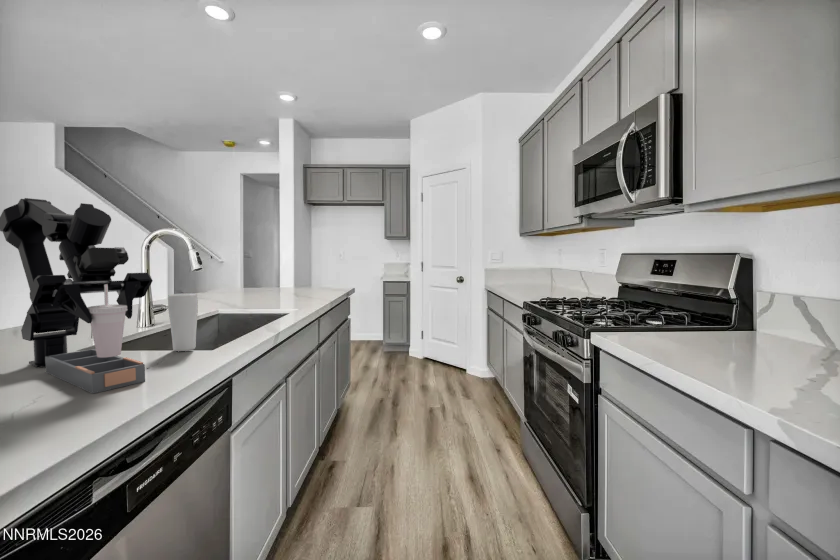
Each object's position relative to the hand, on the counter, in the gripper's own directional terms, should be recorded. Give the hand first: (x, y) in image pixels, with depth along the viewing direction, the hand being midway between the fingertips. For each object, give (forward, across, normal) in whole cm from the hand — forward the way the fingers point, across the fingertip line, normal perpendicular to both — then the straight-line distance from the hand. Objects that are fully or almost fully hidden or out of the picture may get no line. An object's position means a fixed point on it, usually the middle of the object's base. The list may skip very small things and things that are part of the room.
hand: (111, 319), depth 78 cm
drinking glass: (-3, +24, +22) cm, 32 cm away
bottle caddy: (+3, 0, +16) cm, 16 cm away
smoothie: (+4, 0, +6) cm, 8 cm away
